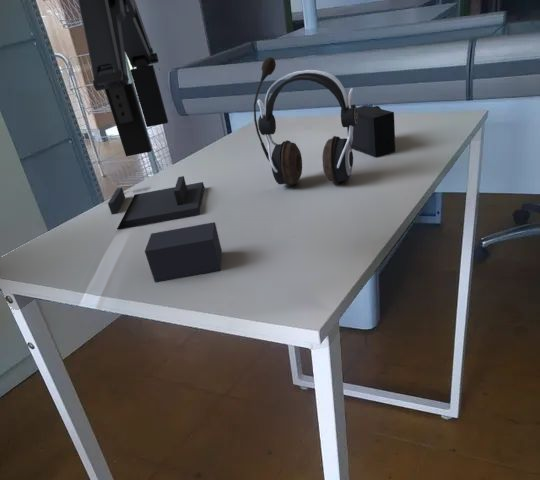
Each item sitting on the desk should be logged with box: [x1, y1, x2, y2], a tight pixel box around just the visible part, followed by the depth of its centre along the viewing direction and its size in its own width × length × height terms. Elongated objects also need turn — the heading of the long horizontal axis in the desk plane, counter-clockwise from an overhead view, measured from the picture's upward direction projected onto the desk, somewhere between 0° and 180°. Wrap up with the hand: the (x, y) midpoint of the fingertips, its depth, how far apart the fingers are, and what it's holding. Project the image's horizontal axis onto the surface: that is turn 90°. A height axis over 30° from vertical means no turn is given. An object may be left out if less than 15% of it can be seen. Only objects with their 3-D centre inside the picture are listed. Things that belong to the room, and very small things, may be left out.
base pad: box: [107, 175, 205, 230], centre depth 96 cm, size 18×14×4 cm
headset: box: [253, 56, 358, 188], centre depth 88 cm, size 17×8×20 cm, turn 71°
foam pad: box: [144, 221, 223, 283], centre depth 74 cm, size 9×6×4 cm, turn 92°
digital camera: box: [346, 105, 396, 158], centre depth 103 cm, size 10×5×7 cm, turn 22°
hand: (149, 138), depth 63 cm, fingers open, 13 cm apart
